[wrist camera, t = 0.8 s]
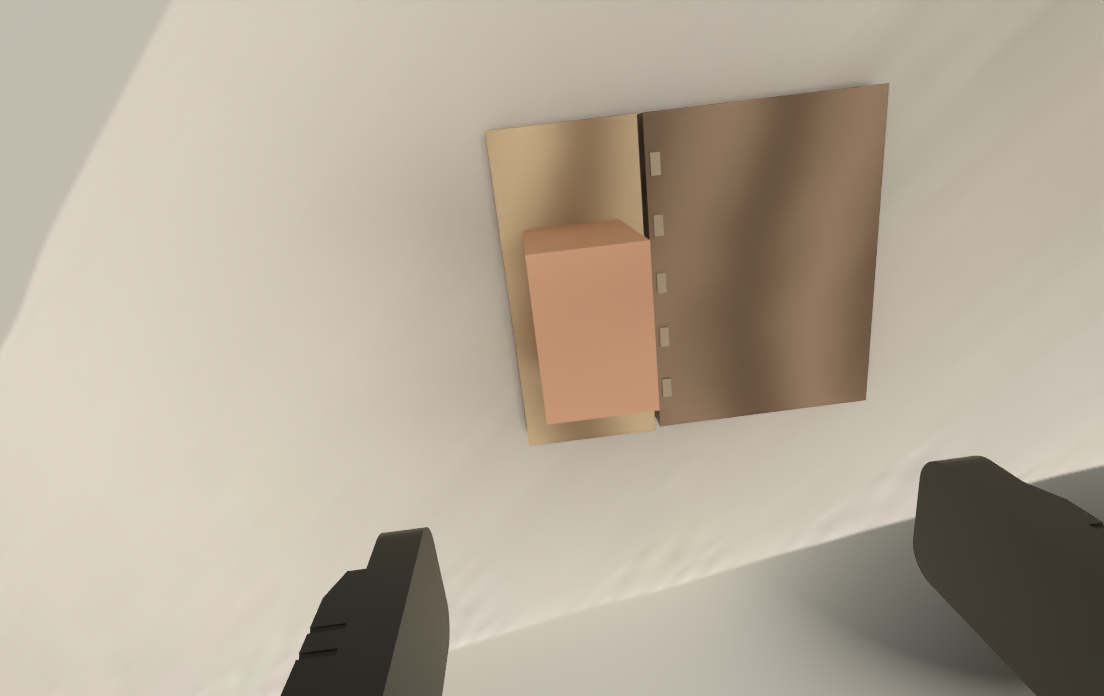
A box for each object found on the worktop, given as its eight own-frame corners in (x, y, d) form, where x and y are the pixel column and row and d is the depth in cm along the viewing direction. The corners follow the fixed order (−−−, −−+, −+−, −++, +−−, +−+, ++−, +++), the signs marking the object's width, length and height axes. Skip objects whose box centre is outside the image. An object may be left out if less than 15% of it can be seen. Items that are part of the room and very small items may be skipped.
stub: (631, 114, 24) (675, 100, 17) (650, 418, 28) (691, 503, 22) (486, 131, 24) (473, 124, 17) (529, 433, 28) (532, 523, 21)
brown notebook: (871, 86, 24) (890, 82, 23) (851, 390, 29) (866, 400, 28) (636, 114, 24) (642, 112, 23) (654, 415, 29) (660, 427, 27)
